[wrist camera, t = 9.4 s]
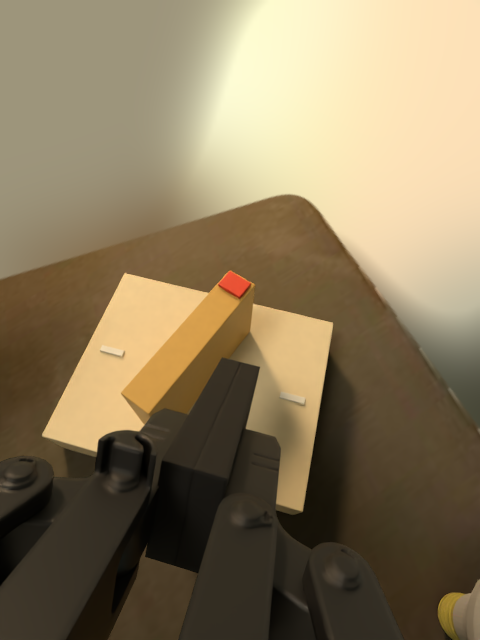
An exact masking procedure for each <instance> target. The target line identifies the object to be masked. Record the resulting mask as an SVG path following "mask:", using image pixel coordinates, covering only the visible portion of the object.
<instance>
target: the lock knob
mask: <svg viewBox="0 0 480 640" xmlns="http://www.w3.org/2000/svg"><path fill="white" fill-rule="evenodd" d="M254 292H255V284H253V283H251V282H250V281H248V280H246V279H244V278H243V277H241V276H239V275H238V274H236V273H234V272H232V271H231V270H229V271H228V272H227V274H226V275H225V276H224V277H223V278H222V279H221V280H220V281H219V283H218V284H217V285H216V286H215V287H214V288H213V289H212V290H211V292H210V293H209V294H208V295H207V296H206V297H205V298H204V299H203V301H202V302H201V303H200V304H199V305H198V306H197V307H196V308H195V310H194V311H193V312H192V313H191V314H190V315H189V316H188V317H187V319H186V320H185V321H184V322H183V323H182V324H181V325H180V327H179V328H178V329H177V330H176V331H175V332H174V333H173V334H172V336H171V337H170V338H169V339H168V340H167V341H166V342H165V343H164V345H163V346H162V347H161V348H160V349H159V350H158V351H157V352H156V354H155V355H154V356H153V357H152V358H151V359H150V360H149V361H148V363H147V364H146V365H145V366H144V367H143V368H142V369H141V370H140V372H139V373H138V374H137V375H136V376H135V377H134V378H133V379H132V381H131V382H130V383H129V384H128V385H127V386H126V387H125V388H124V390H123V391H122V392H121V394H122V396H123V397H124V399H125V400H126V401H127V403H128V404H129V405H130V407H131V408H132V409H133V411H134V412H135V413H136V415H137V416H138V417H139V419H140V420H141V421H142V423H143V424H144V425H145V423H146V422H147V421H148V420H149V418H150V417H151V416H152V414H154V413H156V412H158V411H160V410H162V409H164V408H166V409H169V410H173V411H177V412H181V413H184V414H186V413H187V412H188V411H189V410H190V408H191V407H192V406H193V404H194V403H195V402H196V400H197V399H198V397H199V396H200V394H201V392H202V391H203V389H204V387H205V386H206V384H207V382H208V380H209V379H210V377H211V375H212V374H213V372H214V370H215V369H216V367H217V365H218V363H219V362H220V360H221V358H222V357H223V358H227V359H229V358H230V357H231V355H232V354H233V353H234V351H235V350H236V349H237V348H238V346H239V345H240V344H241V342H242V341H243V340H244V339H245V337H246V336H247V335H248V333H249V332H250V328H251V319H252V310H253V301H254Z"/></svg>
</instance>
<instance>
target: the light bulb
mask: <svg viewBox="0 0 480 640" xmlns="http://www.w3.org/2000/svg"><path fill="white" fill-rule="evenodd" d="M438 618H439V622H440V624H441V626H442V628H443V630H444V631H445V633H446V634H447V635H448V636H449V637H450V638H451V639H453V640H480V579H479V580H478V582H477V583H476V585H475V587H474V589H473V591H472V593H471V594H462V593H454V592H453V593H449V594H447V595H445V596H444V597H443V598H442V599H441V601H440V603H439V606H438Z"/></svg>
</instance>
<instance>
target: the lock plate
mask: <svg viewBox="0 0 480 640" xmlns="http://www.w3.org/2000/svg"><path fill="white" fill-rule="evenodd" d="M208 294H209V293H205V292H201V291H197V290H193V289H189V288H184V287H180V286H176V285H172V284H168V283H163V282H159V281H155V280H151V279H147V278H142V277H138V276H134V275H130V274H126V273H125V274H124V276H123V278H122V280H121V282H120V284H119V286H118V288H117V289H116V291H115V293H114V295H113V297H112V299H111V301H110V303H109V305H108V307H107V309H106V311H105V313H104V315H103V317H102V319H101V321H100V323H99V325H98V327H97V329H96V330H95V332H94V334H93V336H92V338H91V340H90V342H89V344H88V346H87V348H86V350H85V352H84V354H83V356H82V358H81V360H80V362H79V364H78V366H77V368H76V370H75V372H74V373H73V375H72V377H71V379H70V381H69V383H68V385H67V387H66V389H65V391H64V393H63V395H62V397H61V399H60V401H59V403H58V405H57V407H56V409H55V411H54V413H53V414H52V416H51V418H50V420H49V422H48V424H47V426H46V428H45V430H44V432H43V434H42V437H44V438H46V439H48V440H49V441H51V442H53V443H55V444H57V445H59V446H61V447H63V448H66V449H69V450H72V451H76V452H79V453H83V454H86V455H90V456H93V457H96V456H97V447H98V440H99V439H100V438H101V437H103V436H104V435H106V434H108V433H111V432H114V431H119V430H132V431H140V430H141V429H142V427H143V426H145V425H144V424H143V423H142V421H141V420H140V419H139V417H138V416H137V415H136V413H135V412H134V411H133V409H132V408H131V407H130V405H129V404H128V403H127V401H126V400H125V399H124V397H123V396H122V394H121V392H122V391H123V390H124V388H125V387H126V386H127V385H128V384H129V383H130V382H131V381H132V379H133V378H134V377H135V376H136V375H137V374H138V373H139V372H140V370H141V369H142V368H143V367H144V366H145V365H146V364H147V363H148V361H149V360H150V359H151V358H152V357H153V356H154V355H155V354H156V352H157V351H158V350H159V349H160V348H161V347H162V346H163V345H164V343H165V342H166V341H167V340H168V339H169V338H170V337H171V336H172V334H173V333H174V332H175V331H176V330H177V329H178V328H179V327H180V325H181V324H182V323H183V322H184V321H185V320H186V319H187V317H188V316H189V315H190V314H191V313H192V312H193V311H194V310H195V308H196V307H197V306H198V305H199V304H200V303H201V302H202V301H203V299H204V298H205V297H206V296H207V295H208ZM332 330H333V323H331V322H327V321H323V320H319V319H314V318H310V317H306V316H302V315H298V314H293V313H289V312H285V311H281V310H277V309H272V308H268V307H264V306H260V305H256V304H253V310H252V319H251V328H250V332H249V333H248V335H247V336H246V337H245V339H244V340H243V341H242V342H241V344H240V345H239V346H238V348H237V349H236V350H235V351H234V353H233V354H232V355H231V357H230V358H229V359H231V360H235V361H239V362H243V363H247V364H251V365H255V366H258V367H260V370H259V374H258V379H257V383H256V387H255V391H254V396H253V400H252V404H251V408H250V413H249V417H248V421H247V425H246V429H248V430H252V431H256V432H260V433H263V434H267V435H271V436H275V437H276V439H277V441H278V443H279V445H280V447H281V456H280V466H279V477H278V488H277V499H276V510H278V511H281V512H284V513H288V514H291V515H295V514H298V513H301V512H303V508H304V502H305V495H306V489H307V483H308V477H309V471H310V465H311V459H312V452H313V446H314V440H315V434H316V428H317V422H318V416H319V409H320V403H321V397H322V391H323V385H324V379H325V373H326V366H327V360H328V354H329V348H330V342H331V336H332ZM196 401H197V400H196ZM195 403H196V402H195ZM195 403H194V404H195ZM194 404H193V406H194ZM193 406H192V407H191V408H190V410H189V411H188V412H187V413H186V414H188V415H189V413H190V411H191V409H192V408H193Z"/></svg>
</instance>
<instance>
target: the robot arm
mask: <svg viewBox="0 0 480 640" xmlns="http://www.w3.org/2000/svg"><path fill="white" fill-rule="evenodd" d="M259 370H260V367H258V366H255V365H251V364H247V363H243V362H239V361H235V360H231V359H227V358H223V357H222V358H221V360H220V362H219V363H218V365H217V367H216V369H215V370H214V372H213V374H212V375H211V377H210V379H209V380H208V382H207V384H206V386H205V387H204V389H203V391H202V392H201V394H200V396H199V397H198V399H197V401H196V403H195V404H194V406H193V408H192V409H191V411H190V413H189V415H188V414H184V413H181V412H177V411H173V410H169V409H166V408H164V409H162V410H160V411H158V412H156V413H154V414H152V416H151V417H150V418H149V420H148V421H147V422H146V423H145V426H143V427H142V429H141V430H140V431H132V430H119V431H114V432H111V433H108V434H106V435H104V436H103V437H101V438H100V439H99V440H98V447H97V456H96V465H95V472H94V473H93V474H92V475H91V476H90V477H84V478H64V477H53V475H54V473H53V469H52V466H51V465H50V464H49V463H48V462H47V461H46V460H44V459H41V458H38V457H32V456H20V457H14V458H9V459H6V460H4V461H1V462H0V640H108V638H109V635H110V633H111V631H112V629H113V627H114V625H115V622H116V620H117V618H118V616H119V614H120V612H121V609H122V607H123V605H124V603H125V601H126V599H127V596H128V594H129V592H130V590H131V588H132V586H133V583H134V581H135V579H136V576H137V572H138V567H139V561H140V557H141V555H142V553H143V551H144V549H145V547H146V545H147V550H146V556H145V557H148V558H151V559H155V560H158V561H161V562H164V563H167V564H171V565H174V566H177V567H180V568H184V569H187V570H190V571H193V572H197V573H198V576H197V579H196V582H195V586H194V589H193V593H192V596H191V599H190V603H189V606H188V609H187V613H186V616H185V619H184V623H183V626H182V629H181V633H180V636H179V639H178V640H404V638H403V636H402V634H401V632H400V629H399V627H398V625H397V623H396V620H395V618H394V616H393V614H392V611H391V609H390V607H389V605H388V602H387V600H386V598H385V596H384V593H383V591H382V589H381V587H380V584H379V582H378V580H377V578H376V575H375V573H374V572H373V570H372V569H371V567H370V566H369V564H368V562H367V561H366V560H365V559H363V558H362V557H361V556H360V555H359V554H358V553H357V552H356V551H354V550H352V549H350V548H349V547H347V546H345V545H342V544H338V543H334V542H326V543H320V544H319V545H317V546H316V547H314V548H313V549H312V550H311V549H310V548H308V547H306V546H305V545H303V544H301V543H300V542H298V541H297V540H295V539H294V538H292V537H291V536H290V535H289V534H288V533H287V532H286V531H285V530H284V529H283V527H282V526H281V524H280V523H279V521H278V518H277V515H276V499H277V488H278V477H279V466H280V456H281V447H280V445H279V443H278V441H277V439H276V437H275V436H271V435H267V434H263V433H260V432H256V431H252V430H248V429H246V425H247V421H248V417H249V413H250V408H251V404H252V400H253V396H254V391H255V387H256V383H257V379H258V374H259ZM147 543H148V544H147Z"/></svg>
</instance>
